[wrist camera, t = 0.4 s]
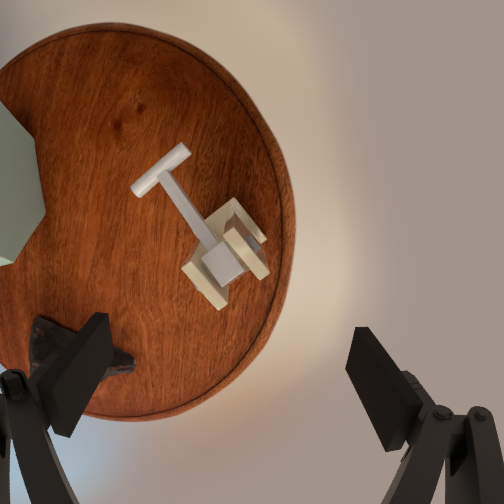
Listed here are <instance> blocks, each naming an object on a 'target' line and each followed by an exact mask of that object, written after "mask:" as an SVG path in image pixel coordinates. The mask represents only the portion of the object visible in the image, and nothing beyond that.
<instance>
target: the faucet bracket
mask: <svg viewBox="0 0 504 504" xmlns="http://www.w3.org/2000/svg"><path fill="white" fill-rule="evenodd" d="M204 220H205V221H206V223H207V224H208V226H209V227H210V228H211V230H212V231H213V233H214V234H215V235H216V237H217V238H218V240H219V241H220V242H222V241H227V242H228V243H229V244H230V245H231V246H232V248H233V249H234V250H235V251H236V252H237V254H238V255H239V256H240V257H241V259H242V260H243V261H244V262H245V263H246V265H247V266H248V267H249V268H250V270H251V271H252V272H253V273H254V274H255V276H256V277H257V278H258V279H259V280H261V279H263V278H264V277H265V276H267V275H268V274H269V273H270V271H269V267H268V264H267V261H266V257H265V254H264V251H263V247H262V244H261V243H263V242H264V241H265V240H267V238H266V236H265V235H264V233H263V232H262V231H261V229H260V228H259V227H258V226H257V224H256V223H255V222H254V221H253V219H252V218H251V217H250V215H249V214H248V213H247V212H246V210H245V209H244V208H243V207H242V205H241V204H240V203H239V202H238V200H237V199H236V198H235V197H232V198H231V199H230V200H228V201H227V202H226V203H225V204H223V205H222V206H221V207H219V208H218V209H217V210H216V211H214V212H213V213H212V214H211V215H209V216H208V217H207V218H206V219H204ZM192 231H193V230H192ZM193 233H194V231H193ZM194 234H195V233H194ZM195 235H196V234H195ZM207 252H208V251H207V250H206V248H205V247H204V246H203V244H202V243H201V241H200V240H199V238H197V240H196V241H195V243H194V245H193V247H192V249H191V251H190V252H189V254H188V256H187V258H186V260H185V262H184V264H183V266H182V267H181V269H182V270H183V271H184V273H185V274H186V275H187V276H188V277H189V278H190V280H191V281H192V282H193V285H194V286H195V288H196V289H197V290H198V291H200V292H202V293H203V294H204V295H205V297H206V298H207V299H208V300H209V301H210V302H211V303H212V304H213V305H214V307H215V308H216V309H217V310H220V309H222V308H223V307H224V306H226V305H227V304H228V295H229V285H227V286H224V287H221V286H220V284H219V283H218V281H217V280H216V279H215V277H214V276H213V274H212V273H211V271H210V270H209V269H208V267H207V266H206V264H205V263H204V262H203V260H202V259H201V257H202V256H204V255H205V254H206V253H207Z"/></svg>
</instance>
